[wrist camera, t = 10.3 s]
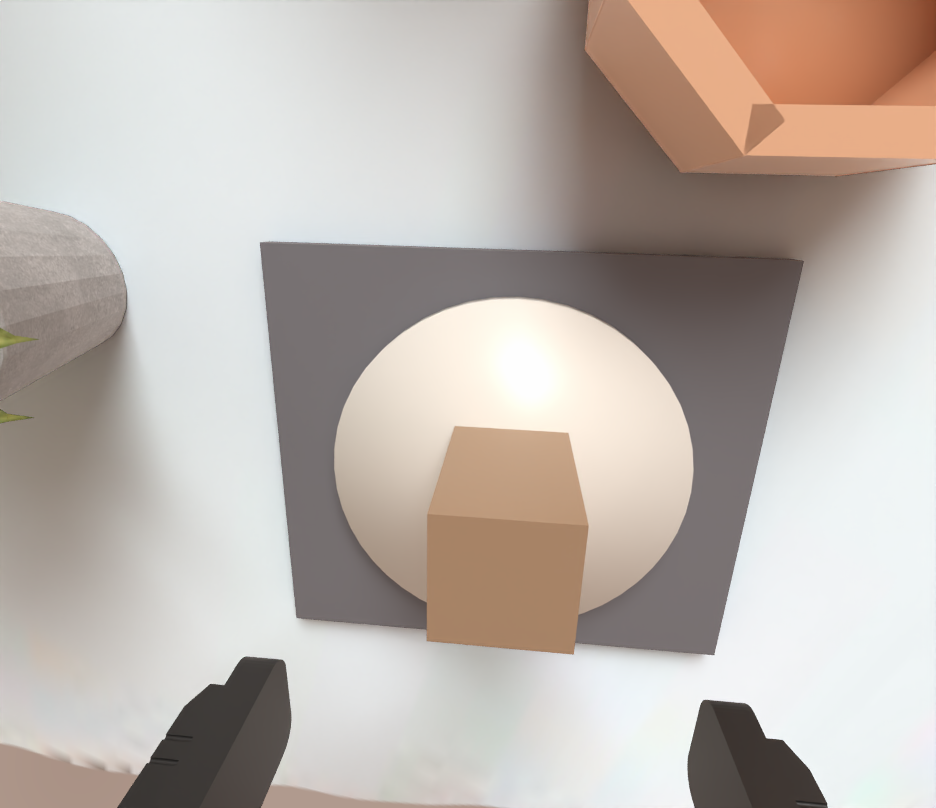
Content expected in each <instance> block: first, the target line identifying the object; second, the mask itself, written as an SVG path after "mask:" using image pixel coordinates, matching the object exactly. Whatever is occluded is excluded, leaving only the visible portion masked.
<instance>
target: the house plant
mask: <svg viewBox="0 0 936 808" xmlns="http://www.w3.org/2000/svg"><path fill="white" fill-rule="evenodd" d="M126 296H127V291H126V286H125V282H124V277H123V273H122V271H121V269H120V266H119V264H118V262H117V260H116V258H115V256H114V254H113V253H112V252H111V250H110V249H109V248H108V246H107V245H106V244H105V242H104V241H103V239H102V238H100V237H99V236H98V235H97V234H96V233H95V232H94V231H92V230H91V229H90V228H89V227H88V226H87V225H85V224H83V223H81V222H79V221H78V220H76V219H74V218H72V217H70V216H67V215H64V214H60V213H56V212H53V211H48V210H43V209H38V208H33V207H28V206H23V205H19V204H14V203H9V202H4V201H0V401H1V400H3V399H5V398H7V397H8V396H10V395H12V394H14V393H15V392H17V391H19V390H21V389H23V388H24V387H26V386H28V385H30V384H31V383H33V382H35V381H37V380H38V379H40V378H42V377H44V376H45V375H47V374H49V373H51V372H52V371H54V370H56V369H58V368H59V367H61V366H63V365H65V364H66V363H68V362H70V361H72V360H73V359H75V358H77V357H79V356H80V355H82V354H84V353H86V352H87V351H89V350H91V349H93V348H94V347H96V346H98V345H100V344H101V343H103V342H104V341H106V340H107V339H108V338H110V337H111V336H113V334H114V333H115V332H116V330H117V329H118V327H119V326H120V325H121V323H122V320H123V317H124V314H125V310H126ZM28 418H34V417H27V416H20V415H12V414H7V413H5V412H4V411H2V410H1V409H0V423H4V422H9V421H15V420H22V419H28Z"/></svg>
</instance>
